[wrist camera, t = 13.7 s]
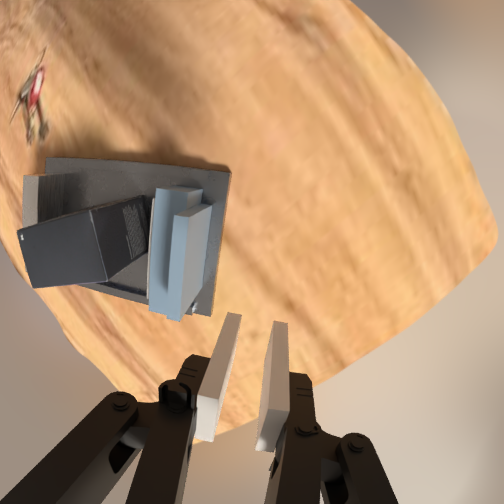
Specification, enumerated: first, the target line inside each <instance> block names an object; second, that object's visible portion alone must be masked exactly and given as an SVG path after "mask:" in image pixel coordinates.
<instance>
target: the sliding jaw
mask: <svg viewBox="0 0 504 504" xmlns="http://www.w3.org/2000/svg"><path fill="white" fill-rule="evenodd" d="M202 192H203V189H199V188H192V187H185V186H178V185H173V186H167V187H161V188H156V196H155V198H153V202H152V212H151V223H150V236H149V252H148V272H147V299H149V311H152V312H156V313H160V314H164V315H167V319H171V320H175V321H179V322H180V320H181V319H182V317H183V316H184V314H185V313H186V311H187V310H188V308H189V307H190V305H191V303H192V302H193V300H194V299H195V297H196V296H197V294H198V293H199V291H200V290H201V288H202V284H203V275H204V266H205V258H206V250H207V242H208V234H209V226H210V219H211V211H212V205H207V204H201V200H202Z"/></svg>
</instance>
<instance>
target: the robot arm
mask: <svg viewBox="0 0 504 504" xmlns="http://www.w3.org/2000/svg"><path fill="white" fill-rule="evenodd" d="M241 316H242V315H240V314H235V313H229V312H228V313H227V316H226V318H225V321H224V324H223V326H222V329H221V332H220V335H219V337H218V340H217V343H216V346H215V348H214V351H213V354H212V356H211V358H207V357H202V356H198V355H194V354H192V355H191V356H189V357H188V358H187V359H185V361H184V363H183V365H182V368H181V369H180V371H179V374H178V375H177V377H176V379H172V380H167V381H165V382H163V383H161V385H160V386H159V387H158V389H159V401H158V402H154V403H144V402H137V400H136V399H135V397H134V396H132V395H131V394H129V393H126V392H118V391H117V392H113V393H110V394H109V395H107V396H106V397H105V398H104V399H103V400H102V401H101V402H100V403H99V404H98V405H97V406H96V407H95V408H94V409H93V410H92V411H91V412H90V413H89V414H88V415H87V416H86V417H85V418H84V419H83V420H82V421H81V422H80V423H79V424H78V425H77V426H76V427H75V428H74V429H73V430H72V431H71V432H70V433H69V434H68V435H67V436H66V437H64V438H63V440H61V441H60V442H59V443H58V444H57V446H55V447H54V449H52V450H51V451H50V452H49V453H48V454H47V455H46V456H45V457H44V458H43V459H42V460H41V461H40V462H39V463H38V464H37V465H36V466H35V467H34V468H33V469H32V470H31V471H30V472H29V473H28V474H27V475H26V476H25V477H24V478H23V479H22V480H21V481H20V482H19V483H18V484H17V485H16V486H15V487H14V488H13V489H12V490H11V491H10V492H9V493H8V494H7V495H6V496H5V497H4V498H3V499H2V500H1V501H0V504H101V503H102V501H103V500H104V499H105V498H106V496H107V495H108V494H109V492H110V491H111V490H112V488H113V487H114V486H115V484H116V483H117V482H118V480H119V479H120V478H121V476H122V475H123V474H124V472H125V471H126V470H127V468H128V467H129V466H130V464H131V463H132V462H133V460H134V459H135V457H136V456H137V455H138V453H139V452H140V451H141V449H143V451H142V454H141V457H140V460H139V463H138V466H137V469H136V472H135V475H134V478H133V481H132V484H131V487H130V491H129V494H128V497H127V500H126V503H125V504H182V499H183V493H184V487H185V482H186V477H187V472H188V466H189V461H190V456H191V450H192V441H193V438H194V435H195V438H196V439H200V440H204V441H209V442H213V439H214V436H215V432H216V428H217V424H218V420H219V416H220V412H221V408H222V404H223V400H224V396H225V392H226V388H227V385H228V381H229V377H230V373H231V369H232V365H233V361H234V357H235V351H236V346H237V340H238V334H239V328H240V322H241ZM312 390H313V389H312V381H311V380H310V378H309V377H308V376H307V374H301V373H294V372H289V349H288V323H284V322H278V321H274V322H273V326H272V331H271V335H270V339H269V344H268V348H267V352H266V356H265V361H264V371H263V381H262V391H261V400H260V410H259V419H258V428H257V437H256V446H255V450H259V451H267V452H274V450H275V447H276V452H275V457H274V460H273V462H272V464H271V466H270V469H269V471H271V473H270V478H269V483H268V488H267V493H266V499H265V503H264V504H320V489H321V493H322V497H323V501H324V504H398V501H397V499H396V497H395V494H394V492H393V490H392V488H391V485H390V483H389V480H388V478H387V476H386V473H385V471H384V469H383V467H382V464H381V462H380V460H379V457H378V455H377V453H376V451H375V449H374V446H373V444H372V442H371V441H370V439H369V438H368V437H366V436H365V435H362V434H359V433H349V434H346V435H345V436H344V437H343V438H340V437H337V436H333V435H330V434H328V433H326V432H324V431H323V430H322V429H321V426H320V425H319V424H318V423H317V422H316V417H315V407H314V398H313V391H312Z"/></svg>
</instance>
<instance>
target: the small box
mask: <svg viewBox="0 0 504 504" xmlns="http://www.w3.org/2000/svg"><path fill="white" fill-rule="evenodd" d="M17 235H18V239H19V243H20V247H21V251H22V255H23V258H24V262H25V265H26V269H27V272H28V275H29V278H30V282H31V285H32V287H33V288H44V287H54V286H65V285H76V284H87V283H99V282H107V281H108V280H109V279H111V278H112V277H114V276H115V275H116V274H118V273H119V272H120V271H122V270H123V269H125V268H126V267H127V266H129V265H130V264H132V263H133V262H135V261H136V260H137V259H139V258H140V257H142V256H143V255H145V254H146V253H148V252H149V236H150V225H149V220H148V215H147V210H146V204H145V199H144V196H143V195H140V196H135V197H131V198H126V199H122V200H116V201H113V202H109V203H105V204H101V205H96V206H92V207H88V208H85V209H82V210H79V211H75V212H72V213H68V214H66V215H63V216H59V217H56V218H53V219H50V220H46V221H43V222H40V223H37V224H34V225H31V226H28V227H25V228H22V229H19V230H17Z"/></svg>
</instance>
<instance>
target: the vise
mask: <svg viewBox="0 0 504 504" xmlns="http://www.w3.org/2000/svg"><path fill="white" fill-rule="evenodd" d="M231 175H232V173H229V172H222V171H215V170H208V169H200V168H192V167H184V166H175V165H166V164H156V163H145V162H134V161H121V160H106V159H88V158H62V157H46V166H45V173H41V174H31V175H24V177H23V228H25V227H28V226H31V225H34V224H37V223H40V222H43V221H46V220H50V219H53V218H56V217H59V216H63V215H66V214H68V213H72V212H75V211H79V210H82V209H85V208H88V207H92V206H96V205H101V204H105V203H109V202H113V201H116V200H122V199H126V198H131V197H135V196H140V195H143V196H144V199H145V204H146V210H147V215H148V220H149V225H150V223H151V212H152V202H153V198H155V196H156V188H161V187H167V186H173V185H178V186H185V187H192V188H199V189H203V192H202V200H201V204H207V205H212V211H211V219H210V226H209V234H208V242H207V250H206V258H205V266H204V275H203V284H202V288H201V290H200V291H199V293H198V294H197V296H196V297H195V299H194V300H193V302H192V303H191V305H190V307H189V308H188V310H187V311H186V313H185V314H188V315H192V314H193V313H196V314H200V315H205V316H210V317H211V315H212V312H213V303H214V295H215V287H216V280H217V272H218V264H219V257H220V250H221V243H222V235H223V228H224V221H225V215H226V208H227V201H228V195H229V188H230V182H231ZM25 268H26V265H25ZM26 272H27V269H26ZM147 272H148V253H146V254H145V255H143V256H142V257H140V258H139V259H137V260H136V261H135V262H133V263H132V264H130V265H129V266H127V267H126V268H125V269H123V270H122V271H120V272H119V273H118V274H116V275H115V276H114V277H112V278H111V279H109V280H108V281H107V282H99V283H87V284H76V285H79V286H82V287H86V288H89V289H92V290H96V291H99V292H103V293H106V294H109V295H113V296H117V297H120V298H124V299H127V300H131V301H135V302H139V303H143V304H146V305H149V299H147Z"/></svg>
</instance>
